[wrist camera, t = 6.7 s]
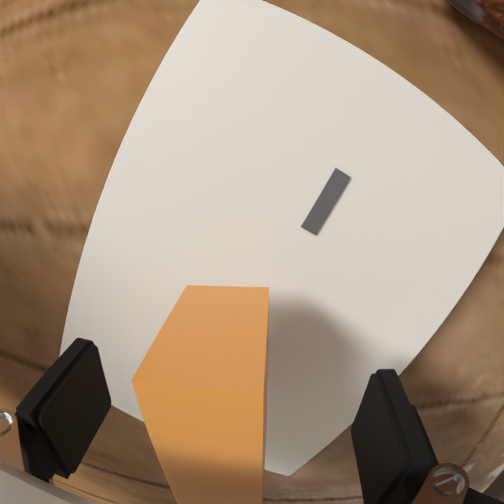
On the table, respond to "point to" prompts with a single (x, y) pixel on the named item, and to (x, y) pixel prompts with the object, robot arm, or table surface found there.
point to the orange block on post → (209, 394)
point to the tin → (483, 13)
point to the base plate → (286, 214)
